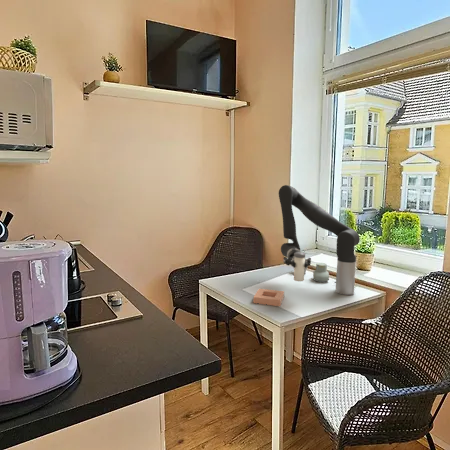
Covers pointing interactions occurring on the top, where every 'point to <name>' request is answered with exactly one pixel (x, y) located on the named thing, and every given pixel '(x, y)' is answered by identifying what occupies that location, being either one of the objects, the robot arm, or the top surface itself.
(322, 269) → the air freshener
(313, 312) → the top surface
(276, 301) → the socket block
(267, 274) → the top surface
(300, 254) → the canister
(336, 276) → the robot arm
